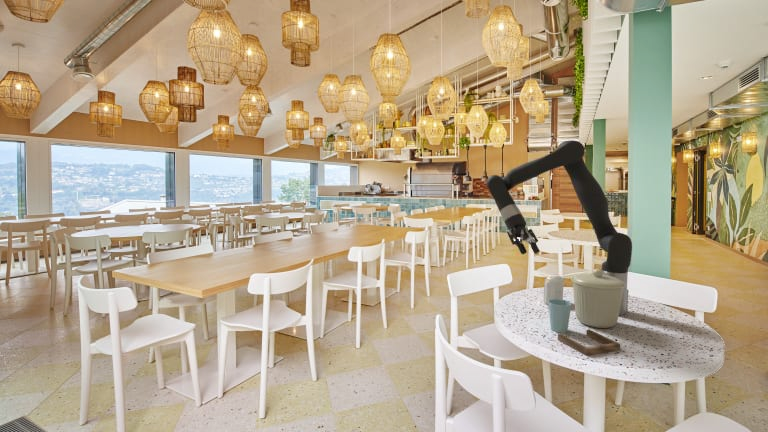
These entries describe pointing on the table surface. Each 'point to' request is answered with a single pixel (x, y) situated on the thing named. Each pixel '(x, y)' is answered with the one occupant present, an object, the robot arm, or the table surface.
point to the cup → (559, 314)
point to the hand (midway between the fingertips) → (531, 253)
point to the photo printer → (553, 288)
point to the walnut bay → (607, 347)
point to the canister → (597, 298)
